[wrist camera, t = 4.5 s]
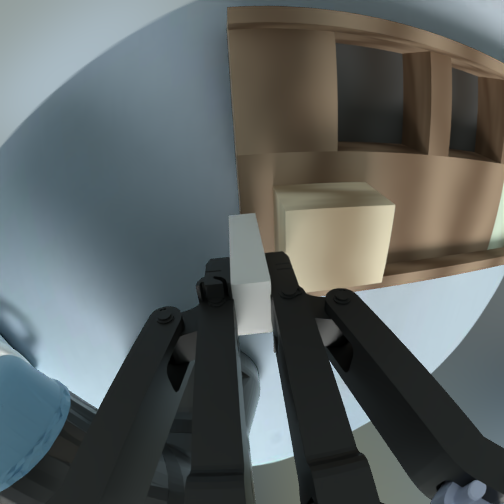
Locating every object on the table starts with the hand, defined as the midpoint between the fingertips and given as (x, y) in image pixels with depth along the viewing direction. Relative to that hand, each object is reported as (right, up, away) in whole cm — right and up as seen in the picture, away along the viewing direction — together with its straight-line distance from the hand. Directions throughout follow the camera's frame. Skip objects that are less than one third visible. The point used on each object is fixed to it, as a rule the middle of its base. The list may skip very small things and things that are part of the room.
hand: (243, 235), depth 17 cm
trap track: (+14, +7, +3) cm, 16 cm away
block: (+5, +1, +2) cm, 5 cm away
